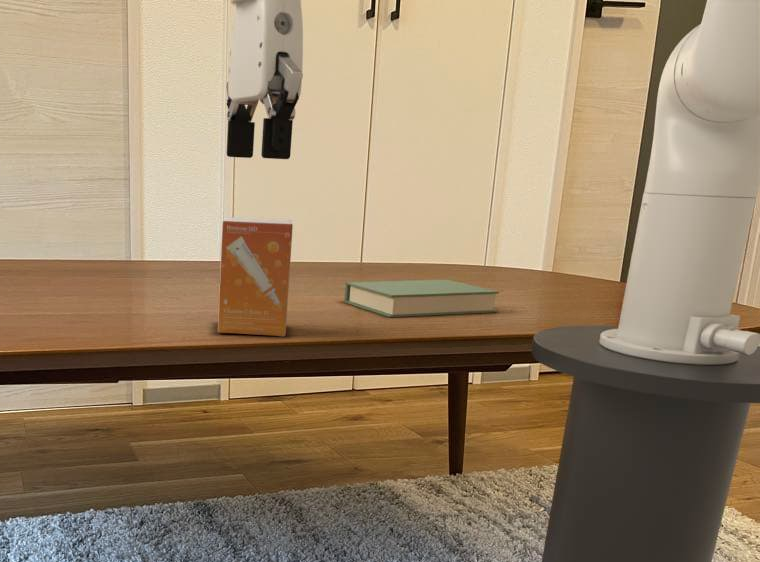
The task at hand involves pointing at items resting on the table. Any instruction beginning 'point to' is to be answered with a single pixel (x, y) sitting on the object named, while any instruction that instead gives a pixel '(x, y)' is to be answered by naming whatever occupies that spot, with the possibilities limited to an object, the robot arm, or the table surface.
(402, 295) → the book
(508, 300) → the table surface
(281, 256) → the small box
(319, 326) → the table surface
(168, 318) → the table surface
